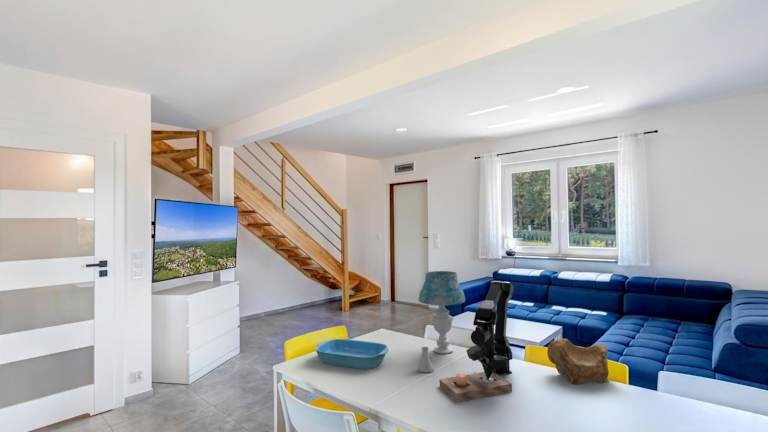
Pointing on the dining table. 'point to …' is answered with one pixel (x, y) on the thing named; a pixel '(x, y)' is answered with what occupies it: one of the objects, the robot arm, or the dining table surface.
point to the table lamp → (442, 303)
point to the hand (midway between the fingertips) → (488, 377)
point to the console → (475, 387)
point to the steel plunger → (487, 379)
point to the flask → (425, 362)
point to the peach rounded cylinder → (461, 380)
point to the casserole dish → (351, 353)
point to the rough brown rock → (579, 361)
